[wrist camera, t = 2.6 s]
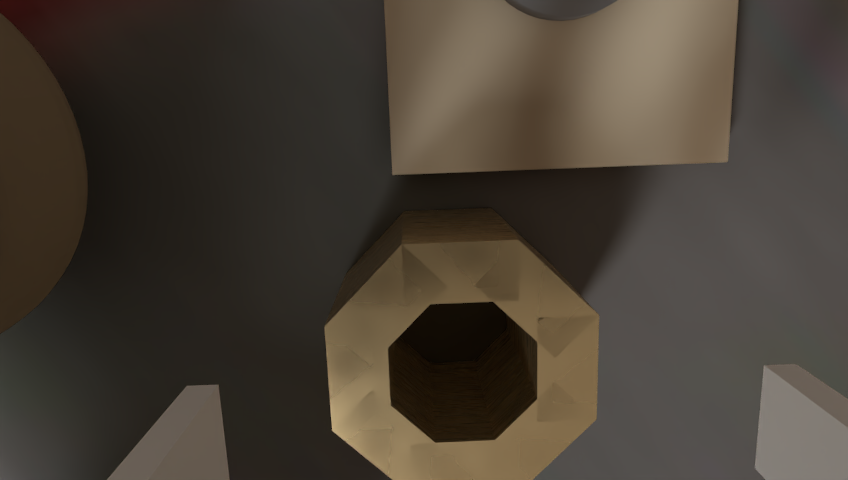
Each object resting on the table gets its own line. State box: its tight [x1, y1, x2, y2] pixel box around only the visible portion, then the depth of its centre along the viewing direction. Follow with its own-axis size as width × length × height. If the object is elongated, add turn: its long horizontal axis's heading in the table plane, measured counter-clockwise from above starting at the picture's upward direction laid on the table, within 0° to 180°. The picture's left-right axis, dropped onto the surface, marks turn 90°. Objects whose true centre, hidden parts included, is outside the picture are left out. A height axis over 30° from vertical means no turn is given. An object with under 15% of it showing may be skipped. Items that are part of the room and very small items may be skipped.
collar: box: [324, 208, 599, 480], centre depth 21 cm, size 8×8×6 cm
